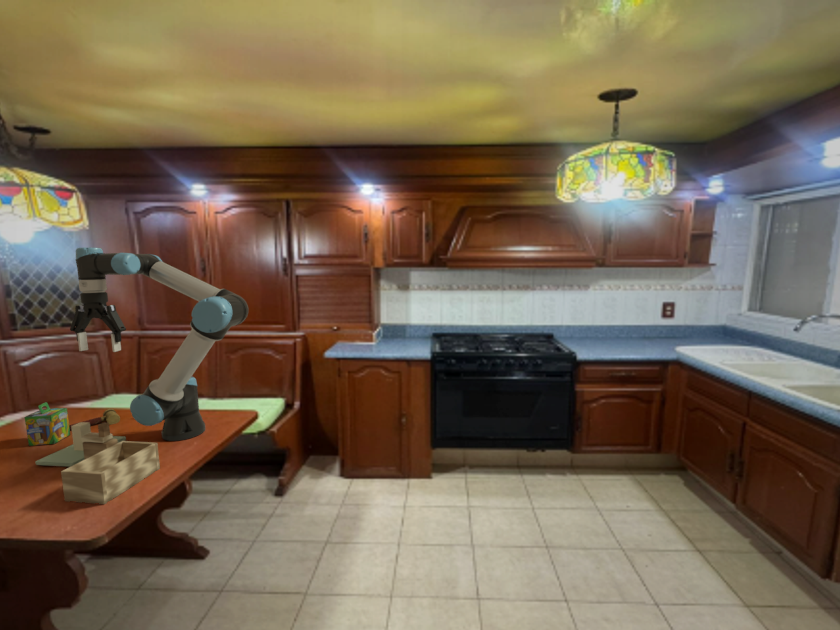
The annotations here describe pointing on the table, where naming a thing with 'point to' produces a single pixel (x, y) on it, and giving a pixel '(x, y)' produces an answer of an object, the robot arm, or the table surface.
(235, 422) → the table surface
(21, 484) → the table surface
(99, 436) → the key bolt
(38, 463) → the lid
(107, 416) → the gavel
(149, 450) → the tan open box
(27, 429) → the chalk box
